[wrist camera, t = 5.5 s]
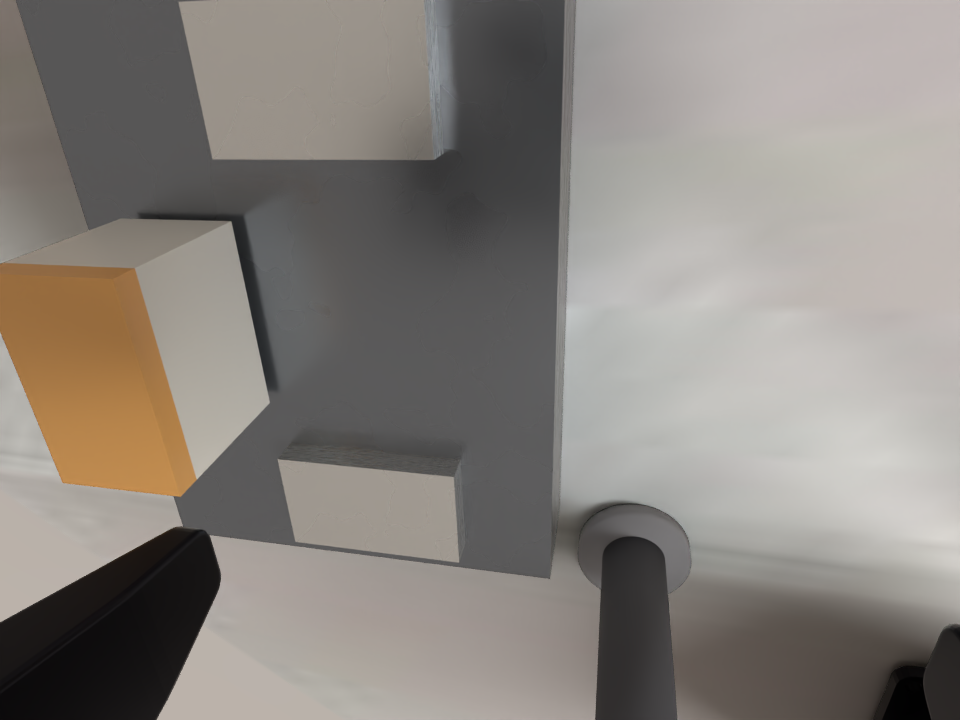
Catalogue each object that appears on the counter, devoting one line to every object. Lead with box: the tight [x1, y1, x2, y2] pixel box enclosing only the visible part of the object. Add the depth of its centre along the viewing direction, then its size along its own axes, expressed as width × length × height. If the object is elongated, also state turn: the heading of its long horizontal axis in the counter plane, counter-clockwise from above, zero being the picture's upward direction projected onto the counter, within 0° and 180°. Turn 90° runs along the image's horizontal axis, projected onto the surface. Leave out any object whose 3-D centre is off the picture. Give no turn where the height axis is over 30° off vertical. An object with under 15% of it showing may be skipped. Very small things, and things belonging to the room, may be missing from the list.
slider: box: [0, 219, 270, 497], centre depth 15 cm, size 5×3×4 cm, turn 2°
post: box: [578, 504, 691, 720], centre depth 17 cm, size 4×4×9 cm
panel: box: [16, 0, 576, 579], centre depth 17 cm, size 16×12×4 cm
